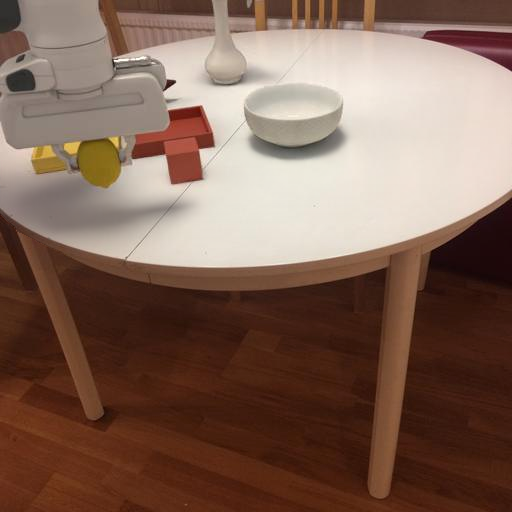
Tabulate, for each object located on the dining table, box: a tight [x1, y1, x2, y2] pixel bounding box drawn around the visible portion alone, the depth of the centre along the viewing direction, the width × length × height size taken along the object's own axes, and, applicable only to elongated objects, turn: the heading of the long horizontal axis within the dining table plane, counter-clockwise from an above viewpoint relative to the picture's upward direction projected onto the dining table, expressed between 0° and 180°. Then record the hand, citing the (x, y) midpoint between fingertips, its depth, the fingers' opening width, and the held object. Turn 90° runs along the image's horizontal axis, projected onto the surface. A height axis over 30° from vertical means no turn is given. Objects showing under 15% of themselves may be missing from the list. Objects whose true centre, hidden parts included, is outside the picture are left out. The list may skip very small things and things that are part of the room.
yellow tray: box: [30, 136, 122, 175], centre depth 92 cm, size 14×13×3 cm
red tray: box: [131, 104, 216, 160], centre depth 95 cm, size 14×13×3 cm
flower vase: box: [204, 0, 261, 85], centre depth 110 cm, size 13×18×25 cm
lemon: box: [77, 138, 122, 189], centre depth 70 cm, size 6×6×8 cm
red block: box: [164, 137, 204, 185], centre depth 82 cm, size 5×5×5 cm
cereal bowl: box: [243, 82, 344, 148], centre depth 90 cm, size 17×17×7 cm
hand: (100, 167), depth 70 cm, fingers closed on lemon, 5 cm apart
